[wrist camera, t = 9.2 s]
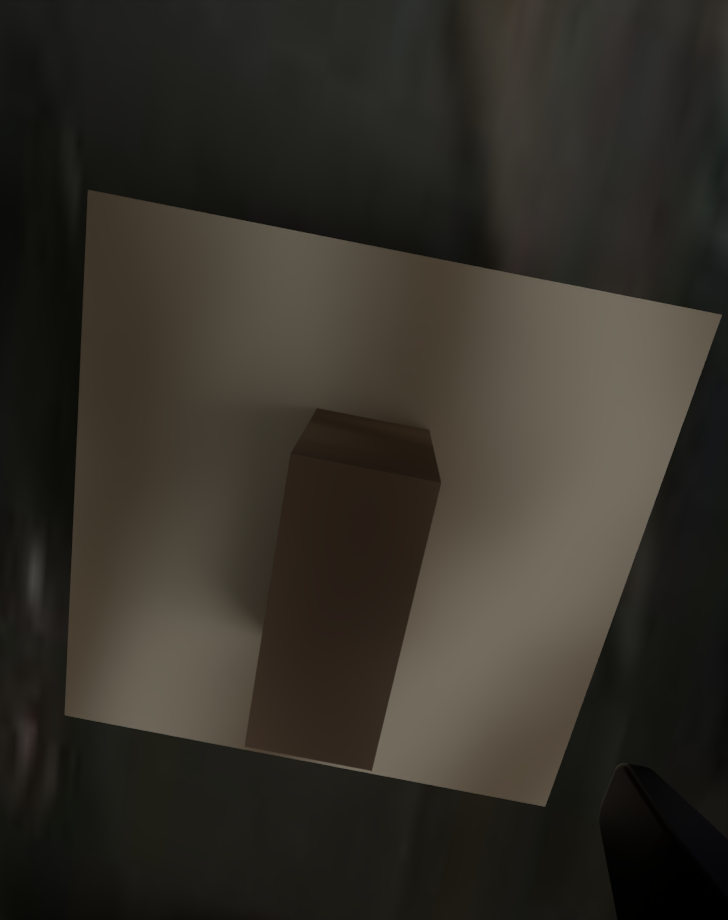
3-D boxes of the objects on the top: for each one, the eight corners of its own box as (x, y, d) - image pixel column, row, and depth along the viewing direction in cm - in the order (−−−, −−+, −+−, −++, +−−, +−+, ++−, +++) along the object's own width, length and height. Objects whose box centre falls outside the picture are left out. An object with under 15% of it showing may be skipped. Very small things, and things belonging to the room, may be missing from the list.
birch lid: (83, 690, 17) (-24, 832, 12) (110, 195, 13) (-32, 155, 9) (536, 776, 17) (584, 947, 13) (697, 311, 13) (847, 329, 9)
